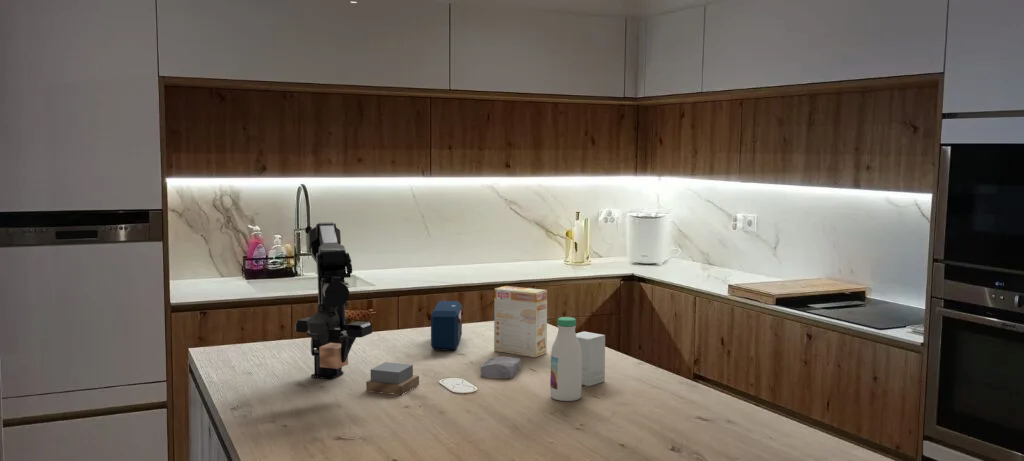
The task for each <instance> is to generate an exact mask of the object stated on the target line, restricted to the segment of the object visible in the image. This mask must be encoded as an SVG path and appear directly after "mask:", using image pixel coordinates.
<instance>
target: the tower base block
mask: <svg viewBox="0 0 1024 461" xmlns="http://www.w3.org/2000/svg"><path fill="white" fill-rule="evenodd" d="M365 382H366V383H365V385H366V388H365V389H366V390H365V391H366V392H369V391H370V392H371V391H372V392H371V393H378V392H383V393H382V394H387V393H394V394H393V395H395V394H401V395H400V396H403V395H404V394H403V393H405V392H406V393H408V392H409V390H410V389H411V390H413V389H414V387H415V388H416V387H418V386H420V376H419V375H414V374H413V376H412V377H410V378H409V379H407V380H405V381H404V382H402V383H400V384H393V383H384V382H375V381H371V379H369V380H367V381H365ZM417 385H418V386H417ZM412 388H413V389H412ZM411 390H410V391H411ZM407 391H408V392H407ZM406 393H405V394H406ZM402 394H403V395H402Z"/></svg>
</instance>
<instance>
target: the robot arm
mask: <svg viewBox="0 0 1024 461" xmlns="http://www.w3.org/2000/svg"><path fill="white" fill-rule="evenodd" d="M315 224H316V225H315V226H314V227H313V228H311V229H310V230H309V231H308V236H307V247H308V249H310V256H311V257H312V258H313V261H314V262H315V264H316V270H317V271H316V272H317V273H316V274H317V296H318V298H317V300H318V306H317V312H316V313H313V315H311V316H307V317H303V318H300V319H298V320H297V321H296V323H295V328H294V331H295V332H296V333H306V335H307V337H310V353H311V356H313V357H314V358H313V362H314V363H313V366H314V369H313V370H314V371H313V372H314V373H312V374H311V375H310V376H311V377H312V378H319V379H330V380H332V379H334V378H337V377H339V376H341V375H343V374H344V371H343V370H342V369H343V367H341V368H338V369H334V368H324V367H320V350H319V347H321V346H323V345H326V344H328V343H339V344H341V360H342V363H344V362H345V361H346V359H347V356H348V357H349V353H350V351H351V349H352V347H353V345H354V343H355V341H356V339H357V338H364V337H366V336H369V335H371V334H373V326H372V324H371V323H370V322H369V321H359V320H358V321H357V320H356V321H354V322H351V323H349V318H348V317H346V307H348V306H349V305H348V304H349V302H348V300H349V298H350V290H349V288H348V286H347V284H346V280H345V279H346V278H351V276H352V275H351V274H353V265H352V257H351V256H350V253H349V252H347V250H346V248H345V245H342V244H341V243H342V239H341V229H339V228H338V227H337V224H336V222H332V221H331V222H318V223H315ZM307 332H308V333H307Z"/></svg>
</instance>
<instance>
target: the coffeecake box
mask: <svg viewBox="0 0 1024 461" xmlns="http://www.w3.org/2000/svg"><path fill="white" fill-rule="evenodd" d="M493 294H494V298H493V299H494V304H493V307H494V309H493V312H494V313H493V314H494V316H493V318H494V319H493V320H494V322H493V323H494V324H493V325H494V326H493V329H494V330H493V331H494V332H493V335H494V336H493V337H494V338H493V342H494V343H493V351H494V352H497V353H498V352H499V353H506V354H511V355H518V356H524V357H529V358H537V357H540V356H543V355H546V354H547V353H548V352H547V346H548V345H547V342H548V341H547V340H548V334H547V333H548V290H547V289H541V288H540V289H539V288H531V287H519V286H510V285H504V286H500V287H495V288H494V293H493Z"/></svg>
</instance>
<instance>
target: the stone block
mask: <svg viewBox="0 0 1024 461" xmlns="http://www.w3.org/2000/svg"><path fill="white" fill-rule="evenodd" d="M520 369H521V358H520V357H517V358H516V357H511V356H497V357H491V358H488V359H487V360H485V361H484V363H483V364H482V365H480V373H481V376H482V377H484V378H489V377H490V378H492V379H495V378H496V379H497V378H498V379H513V378H514V377H515V375H516V374H517V373H518V371H519V370H520ZM490 378H489V379H490Z"/></svg>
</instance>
